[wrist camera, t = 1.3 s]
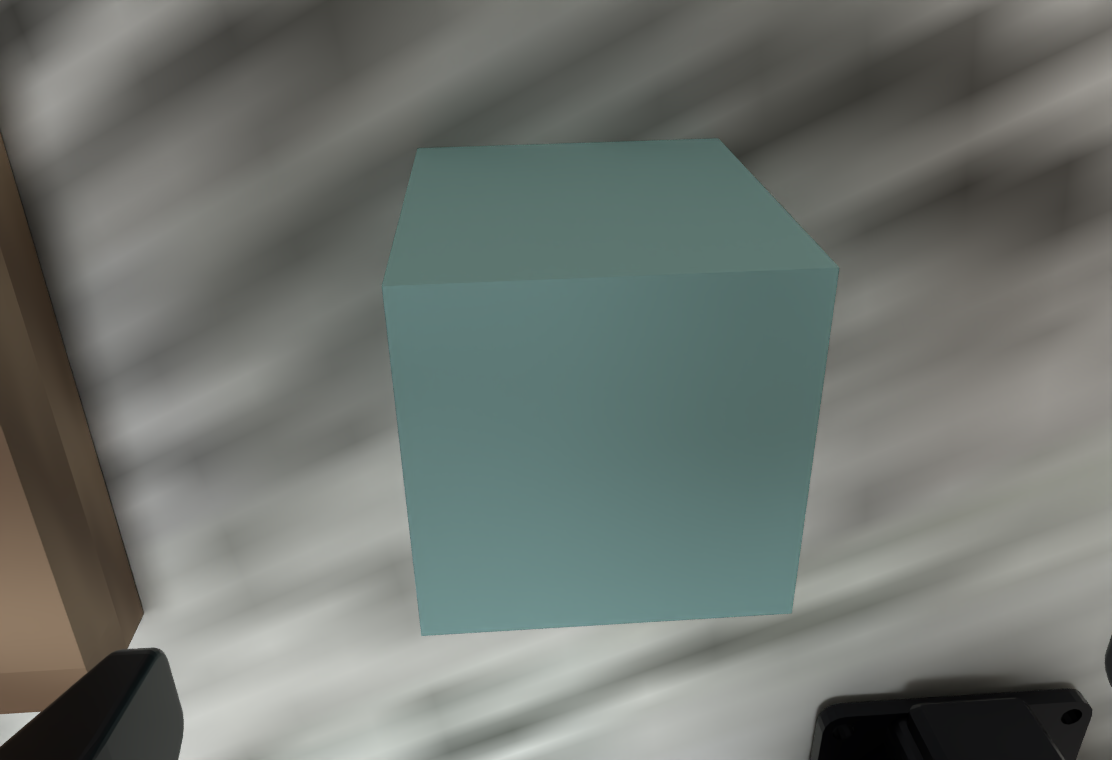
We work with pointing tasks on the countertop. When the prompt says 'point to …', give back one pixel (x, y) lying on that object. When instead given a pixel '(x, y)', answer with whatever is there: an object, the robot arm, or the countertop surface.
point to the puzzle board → (49, 496)
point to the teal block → (603, 384)
